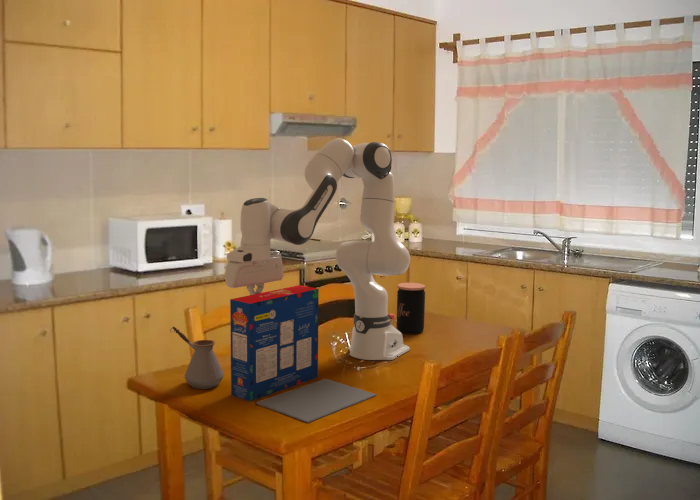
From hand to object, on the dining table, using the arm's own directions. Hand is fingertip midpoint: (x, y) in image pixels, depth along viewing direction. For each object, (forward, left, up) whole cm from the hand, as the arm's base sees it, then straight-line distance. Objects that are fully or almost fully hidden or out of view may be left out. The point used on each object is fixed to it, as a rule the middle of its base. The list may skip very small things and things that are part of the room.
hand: (255, 298), depth 215 cm
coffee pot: (+14, -12, -25) cm, 31 cm away
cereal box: (0, +9, -25) cm, 27 cm away
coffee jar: (-79, 0, -25) cm, 83 cm away
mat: (0, +26, -25) cm, 36 cm away
